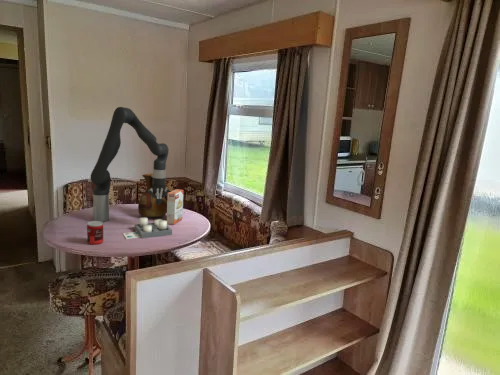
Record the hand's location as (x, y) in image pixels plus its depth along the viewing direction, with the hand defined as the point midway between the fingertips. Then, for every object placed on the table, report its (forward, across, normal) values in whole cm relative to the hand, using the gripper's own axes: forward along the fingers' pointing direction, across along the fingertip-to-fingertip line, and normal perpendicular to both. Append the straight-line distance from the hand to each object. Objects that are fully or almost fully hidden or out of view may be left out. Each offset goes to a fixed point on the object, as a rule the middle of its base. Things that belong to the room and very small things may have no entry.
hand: (158, 204), depth 215 cm
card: (+16, +17, +7) cm, 24 cm away
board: (+16, +4, +5) cm, 17 cm away
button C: (+15, +9, +9) cm, 19 cm away
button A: (+13, +9, 0) cm, 15 cm away
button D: (+13, 0, +9) cm, 16 cm away
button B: (+15, 0, 0) cm, 15 cm away
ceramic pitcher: (+16, -5, -27) cm, 32 cm away
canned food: (+16, +37, +11) cm, 42 cm away
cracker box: (+16, -15, -11) cm, 24 cm away
